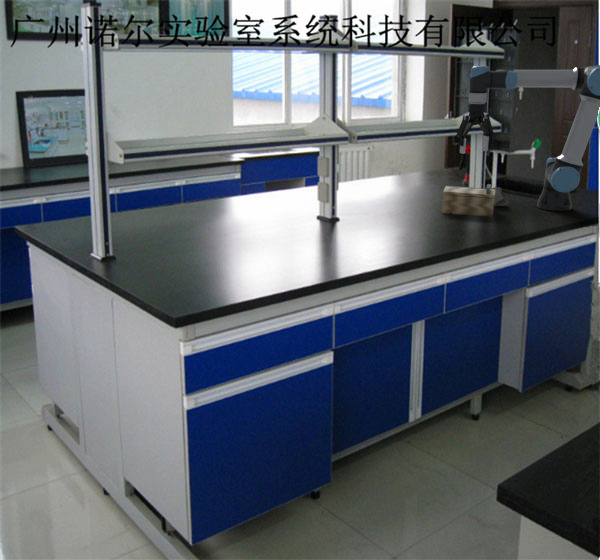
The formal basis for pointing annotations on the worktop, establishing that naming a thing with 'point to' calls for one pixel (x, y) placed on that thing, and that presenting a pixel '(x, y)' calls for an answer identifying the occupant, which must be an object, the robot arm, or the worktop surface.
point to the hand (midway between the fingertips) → (473, 152)
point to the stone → (500, 197)
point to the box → (468, 203)
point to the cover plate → (471, 190)
